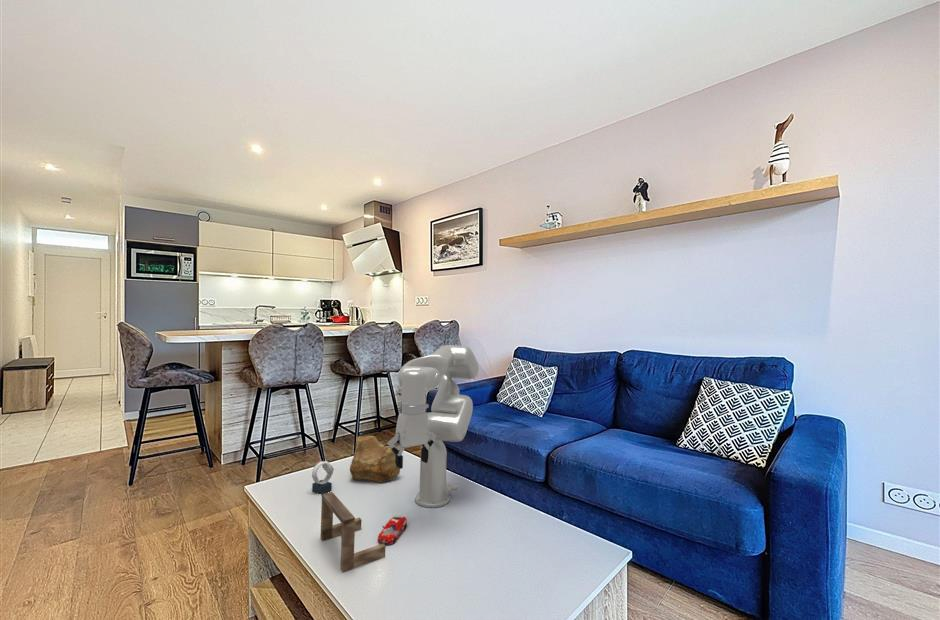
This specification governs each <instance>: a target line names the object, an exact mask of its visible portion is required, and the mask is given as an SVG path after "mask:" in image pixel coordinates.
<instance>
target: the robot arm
mask: <svg viewBox="0 0 940 620" xmlns="http://www.w3.org/2000/svg"><path fill="white" fill-rule="evenodd" d="M478 375H479V362H478V360H477V358H476V356H475V354H474V352H473V350H472V349H471V348H470V347H469V346H466V345H456V344H455V345H452V344H450V345H449V344H445V345H442V346H440V347H439V348H438V349H437V350H436V349H435V351H434V352H432V353H431V354H430V355H425V356H422V357H417V358H414V359H411V360H408V361H407V362H406V363H405V364H404V365H402V366H401V368H400V369H399V372H398V374H397V382H398V384H399V386H400V387H401V388H402V390H401V413H399V414H398V416H397V421H396V425H395V426H396V427H395V436H394V437H392V438H391V439H390V440H389V441H387V446H389V447H390V449H391V450H392V451H393V452H394V453H395V454H396V457H395V464H396V466H397V467H398V468H400V470H401V469H403V467H404V466H403V465H404V456H403V455H402V454H403V452H404V451H405V449H407V448H413V447H417V446H418V447H419V446H420V463H419V464H420V466H419V467H420V469H419V470H420V471H419V492H418V493H416V494H415V496H414V502H416V504H417V505H418V506H419V505H420V506H421V507H425V508H439V507H442V506H445V505H447V504H448V503H449V502H450V500H451V499H450V498H451V497H450V493H451V492H454V491H456V490H457V489H458V486H457V485H456V484H452V485H451V484H450V483H447V459H448V458H447V456H448V455H447V454H448V453H447V451H448V450H447V448H446V445H445V443H444V441H445V442H452V443H453V442H456V443H458V442H459V443H460V442H462V441H463V440H464V438H465V436H466V434H467V431H468V428H469V426H470V425H469V424H470V421H471V418H472V415H473V408H474V404H473V400H472V398H471V397H470V396H469V395H465V394H460V393H461V392H460V387H459V386H458V385H457V383H456V381H454V379H461V380H462V379H464V380H473V379H475V378H476V377H477V376H478ZM438 387H439V388H438ZM437 388H438V389H437ZM436 389H437V393H436V394H435V396H434V399H433V401H432V404H431V409H430V411H431V412H427V409H429V406H430V405H429V403H426V398H427V397H426V396H427V391H432V390H433V391H434V390H436ZM394 445H396V446H397V447H396V448H395V446H394Z"/></svg>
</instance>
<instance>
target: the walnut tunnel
mask: <svg viewBox="0 0 940 620" xmlns="http://www.w3.org/2000/svg"><path fill="white" fill-rule="evenodd" d="M334 516H336V518H337V519H338V520H339V521H340V523H337V524H336V523H335V524H334V523H333V521H334ZM361 530H362V518H361V517H357V518H356V517H355V516H354V514H353V513H351V511H350V510H349V509H348V508H347V507H346V506H345V504H344V503H343V502H342V501H341V500H340V499H339V498H338V496H336V494H335V493H334V492H333V491H331V492H329V493H324V494H322V495H321V515H320V538H319V539H320V541H321V542H324V541H327V540H331V539H334V538H337V537H340V536H341V537H340V541H341V543H340V567H339V570H340V572H341V573H344V572H347V571H350V570H352V569H356V568H359V567H361V566H364V565H367V564H370V563H373V562H375V561H378V560H380V559H381V560H382V559H384V558H385V557H386V548H387V547H386V545H384V544H380V543H379V544H378V545H375V546H372V547H369V548H368V547H367V548H366V549H364V550H359V551H357V552H355V534H356V532H357V531H361Z"/></svg>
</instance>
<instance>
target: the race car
mask: <svg viewBox="0 0 940 620" xmlns="http://www.w3.org/2000/svg"><path fill="white" fill-rule="evenodd" d="M407 526H408V519H407V517H406V516H405V515H404V516H403V515H394V516H392V517H391V518H390V519H389V520H388V521H387V523H386V524H385V526H384V525H383V526H382V528H383V529H382V530H381V531H380V532H379V534H378V535H377V542H378V543H379V545H380V544H384V545H385V546H386V545H388V546H389V545H394V544H395V543H396V541H397V540H398V539H399V538H400V536H401V535H402V533H403V532H404V531H405V530H406V529H407Z"/></svg>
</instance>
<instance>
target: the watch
mask: <svg viewBox="0 0 940 620" xmlns="http://www.w3.org/2000/svg"><path fill="white" fill-rule="evenodd" d="M321 467H322V469H323V470H324V471H325V473H326V475H325V477H324V478H323V479H319V477H318V474H317V472H318V470H319V469H320V468H321ZM334 468H335V467H333V465H332V464H331V463H330V462H329V461H326V460H325V461H323V460H321V461H319V462H317V463H316V464H315V465H314V467H313V469H312V472H311V473H312V475H311V477H312V480H313V483H312V484H311V486H312V487H311V493H314V492H315V493H314V494H317V493H318V494H317V495H319V494H321V495H320V496H322V494H324V493H328V492H330V491H331V492H332V488H333V487H332V484H333V483H332V482H329V481H330V479H331V478H332V476H333V474H334V470H335V469H334Z"/></svg>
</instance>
